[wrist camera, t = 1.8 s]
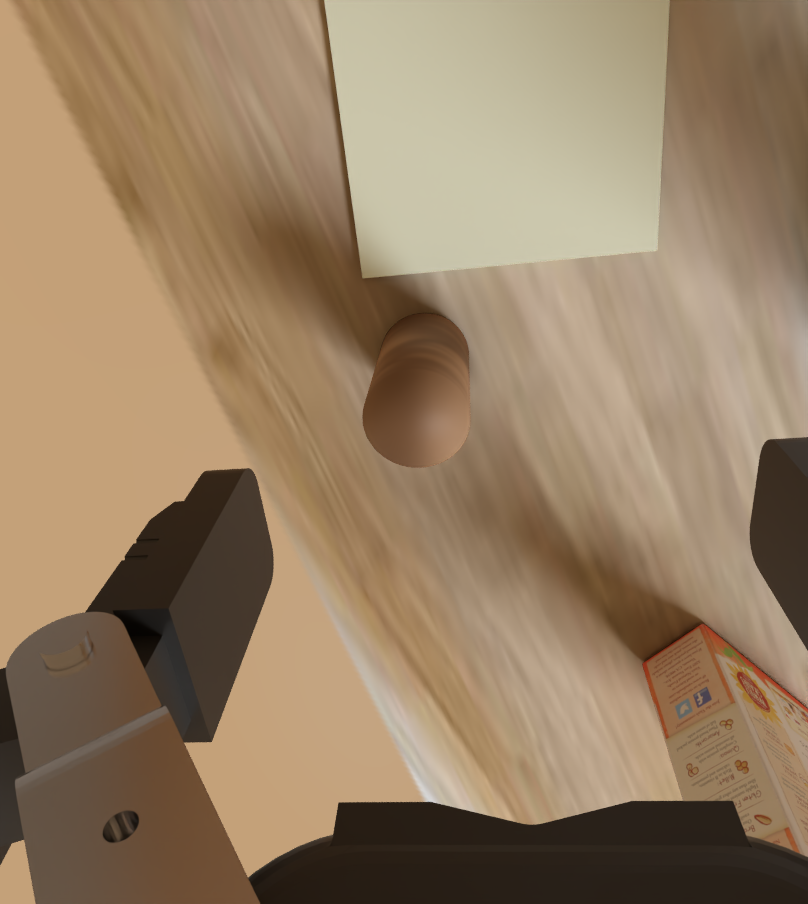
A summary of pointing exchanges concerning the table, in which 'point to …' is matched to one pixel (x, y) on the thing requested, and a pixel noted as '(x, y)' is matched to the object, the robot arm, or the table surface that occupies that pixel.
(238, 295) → the table surface
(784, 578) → the robot arm
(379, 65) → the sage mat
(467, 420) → the walnut cylinder
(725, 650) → the cracker box
